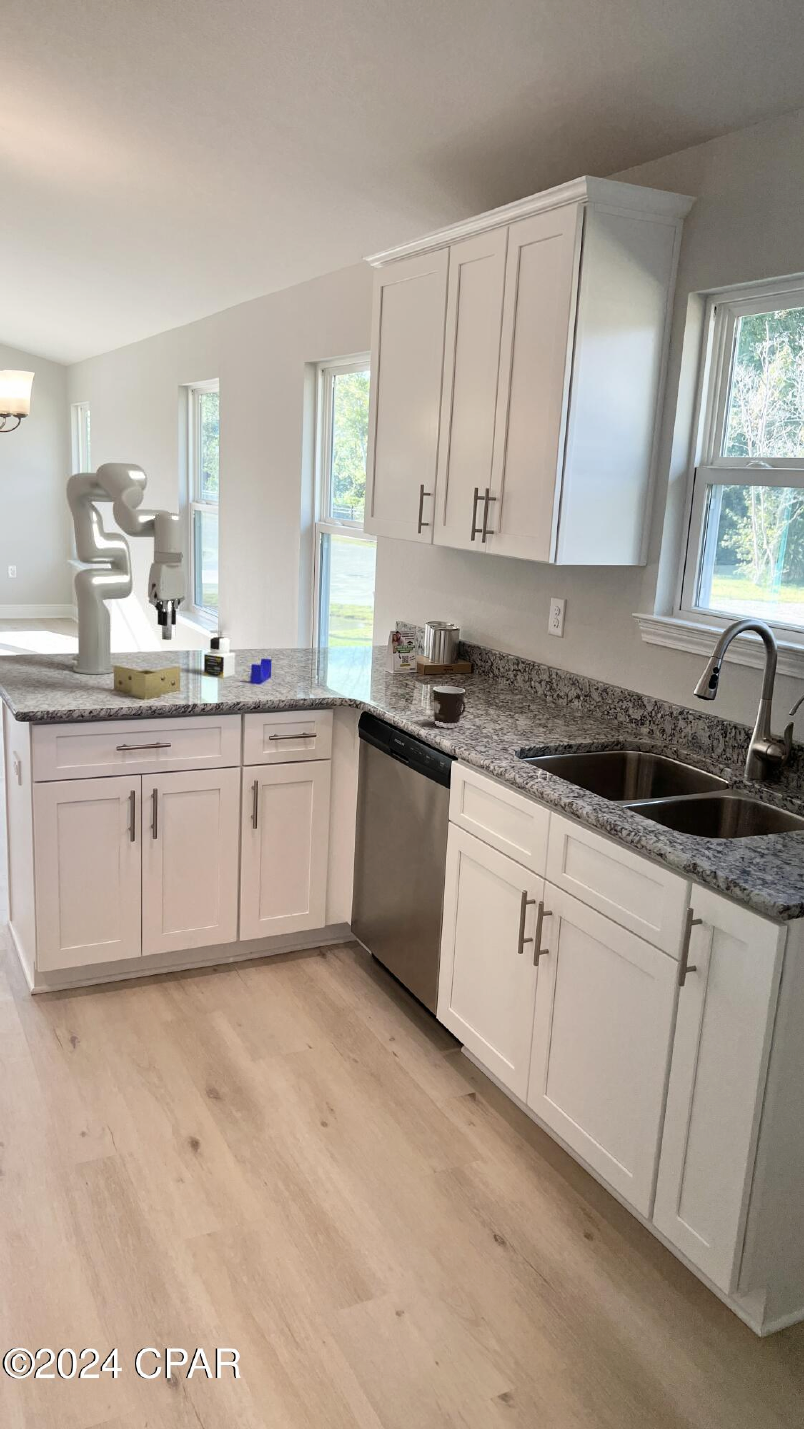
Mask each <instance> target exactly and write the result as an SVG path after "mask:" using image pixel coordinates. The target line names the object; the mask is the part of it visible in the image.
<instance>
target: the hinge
mask: <svg viewBox="0 0 804 1429" xmlns="http://www.w3.org/2000/svg"><path fill="white" fill-rule="evenodd" d="M113 666H114V672H113V690H114V689H116V690H115V691H118V690H119V692H123V691H124V692H123V693H127V692H128V694H130V695H131V697H132V696H135V697H134V698H136V697H138V698H137V699H141V700H144V699H147V700H151V699H156V698H155V697H157V698H161V695H163V694H165V695H166V694H169V692H170V693H174V692H173V691H176V692H181V667H180V666H176V667H175V666H174V667H168V668H162V669H157V670H151V669H141V670H138V669H135V668H130V667H125V666H120V665H117V664H116V665H113Z"/></svg>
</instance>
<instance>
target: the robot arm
mask: <svg viewBox="0 0 804 1429" xmlns="http://www.w3.org/2000/svg"><path fill="white" fill-rule="evenodd" d="M68 478H69V479H68V481H67V483H66V488H65V489H66V494H65V495H66V499H67V504H68V507H69V509H70V513H71V515H72V516H71V517H72V521H73V530H74V539H75V540H74V541H75V548H76V550H75V551H76V555H77V558H78V560H79V561H80V563H83V564H86V565H87V564H90V565H91V564H92V565H93V564H94V565H105V564H107V565H110V568H108V567H107V568H105V567H98V568H94V567H93V568H86V569H85V568H84V569H82V570H79V571H78V572H77V573H76V575H75V577H74V582H73V583H74V584H73V585H74V591H75V595H76V596H75V597H76V603H77V613H78V614H77V623H78V624H77V625H78V626H77V628H78V630H77V631H78V632H77V634H78V636H77V637H78V638H77V639H78V640H77V641H78V645H77V646H78V647H77V648H78V653H77V654H76V655H74V656H72V660H73V661H76V664H75V665H74V666H73V672H75V673H79V674H83V675H84V674H86V675H103V674H112V673H114V665H113V664H111V613H110V610H109V609H108V607H107V605H105V603H104V600H123V599H127V598H128V597H129V596H130V595H131V593H132V591H133V572H132V571H133V570H132V562H131V561H132V559H131V551H130V545H129V542H128V540H127V538H126V537H125V536H124V535H123V534H121V533H119V532H105V530H104V522H103V516H102V514H101V513H100V511H99V509H98V508H97V507H96V506H95V504H93V503H92V502H94V503H95V502H99V503H113V504H112V514H113V515H112V516H113V519H114V522H115V524H116V525H117V526H118V527H119V529H121V530H122V532H124V533H125V534H126V535H128V536H129V537H131V538H153V562H151V565H150V568H149V569H150V570H149V575H148V584H147V597H148V598H149V599H148V603H149V604H151V605H153V607H154V608H155V610H156V612H157V625H158V626H161V627H162V626H167V618H168V613H167V612H166V601H167V600H172V626H175V625H176V623H177V611H178V610H179V607H180V605H181V603H183V602H184V601H185V600H186V597H185V571H184V566H183V563H182V562H183V561H182V560H183V559H182V558H183V557H184V555H183V518H182V515H181V514H179V513H176V512H169V511H167V510H164V509H141V508H140V509H139V508H138V507H139V506H141V504H142V503H143V500H144V496H145V495H144V491H145V490H146V488H147V484H148V476H147V474H146V471H145V470H144V468H143V467H142V466H140V465H139V464H136V463H125V462H124V463H123V462H107V463H104V464H102V465H100V466H99V467H98V468H97V470H96V472H78V473H74V474H72V475H71V476H70V477H68Z"/></svg>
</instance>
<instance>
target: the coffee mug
mask: <svg viewBox="0 0 804 1429" xmlns="http://www.w3.org/2000/svg"><path fill="white" fill-rule="evenodd" d="M432 690H433V691H432V694H433V695H432V696H433V698H432V699H433V714H434V716H433V717H434V719H435V720H434V722H435V721H439V722H443V723H457V722H459V723H460V720H461V719H460V718H461V717H462V715H463V714H464V712H465V711H466V702H465V701H464V698H465V694H466V690H465V689H464V688H460V687H455V686H447V685H445V686H443V685H442V686H434V687H433V688H432Z"/></svg>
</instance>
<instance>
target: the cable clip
mask: <svg viewBox="0 0 804 1429" xmlns="http://www.w3.org/2000/svg"><path fill="white" fill-rule="evenodd" d="M272 660H273V659H272V658H271V659H270V658H261V659H260V664H256V663H253V664H251V666H250V671H251V673H250V684H252V685H262V684H263V683H265V682H267V681H268V680H269V679H271V678H272Z"/></svg>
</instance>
